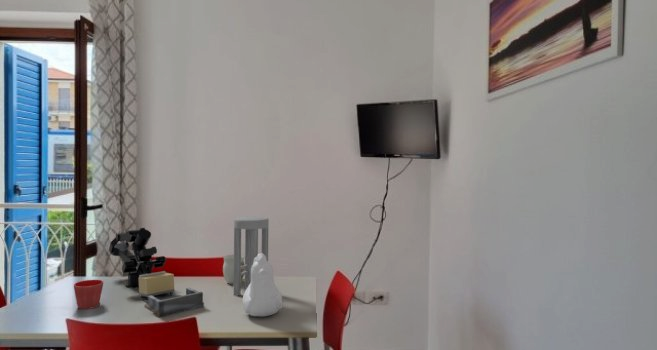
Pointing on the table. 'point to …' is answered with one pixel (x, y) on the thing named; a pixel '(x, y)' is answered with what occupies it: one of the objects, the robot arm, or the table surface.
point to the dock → (174, 303)
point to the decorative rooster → (262, 290)
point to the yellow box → (156, 284)
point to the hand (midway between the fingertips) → (149, 279)
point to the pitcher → (231, 268)
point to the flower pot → (88, 293)
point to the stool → (248, 247)
